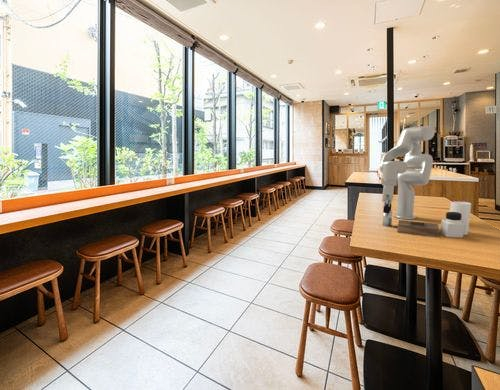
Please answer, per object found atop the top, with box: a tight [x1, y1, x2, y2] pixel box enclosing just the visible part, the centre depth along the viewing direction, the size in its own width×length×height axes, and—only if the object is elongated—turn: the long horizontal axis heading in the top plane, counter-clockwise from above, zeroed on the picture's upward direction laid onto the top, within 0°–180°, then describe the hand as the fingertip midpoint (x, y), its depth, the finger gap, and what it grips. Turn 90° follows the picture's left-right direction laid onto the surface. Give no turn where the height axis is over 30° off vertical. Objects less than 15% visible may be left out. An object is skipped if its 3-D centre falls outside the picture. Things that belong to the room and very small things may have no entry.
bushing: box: [382, 209, 393, 227], centre depth 149 cm, size 5×5×9 cm
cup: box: [449, 200, 472, 236], centre depth 133 cm, size 8×8×16 cm
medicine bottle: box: [439, 211, 465, 239], centre depth 128 cm, size 7×7×12 cm
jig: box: [397, 219, 440, 238], centre depth 137 cm, size 12×18×4 cm, turn 57°
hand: (387, 211), depth 148 cm, fingers open, 9 cm apart
